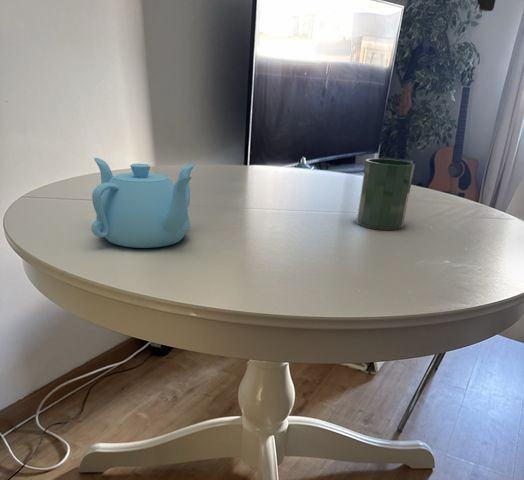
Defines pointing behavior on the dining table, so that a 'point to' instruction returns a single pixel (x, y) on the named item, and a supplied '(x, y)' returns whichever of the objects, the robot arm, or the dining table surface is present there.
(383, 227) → the holder
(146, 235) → the teapot
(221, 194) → the dining table surface
